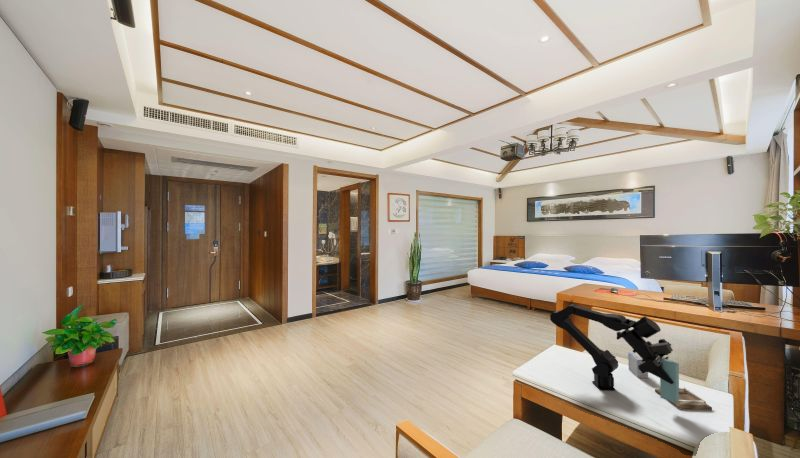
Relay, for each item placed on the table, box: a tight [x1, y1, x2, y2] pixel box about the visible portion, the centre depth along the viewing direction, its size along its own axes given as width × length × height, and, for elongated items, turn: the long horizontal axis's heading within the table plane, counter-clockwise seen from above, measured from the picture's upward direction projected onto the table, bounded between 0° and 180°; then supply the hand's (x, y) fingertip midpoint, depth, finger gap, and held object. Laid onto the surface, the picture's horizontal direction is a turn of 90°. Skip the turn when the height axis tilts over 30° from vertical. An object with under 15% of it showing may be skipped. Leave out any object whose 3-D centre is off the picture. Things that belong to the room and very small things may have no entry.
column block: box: [659, 357, 680, 403], centre depth 114 cm, size 4×4×14 cm
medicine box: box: [627, 352, 649, 379], centre depth 142 cm, size 8×4×9 cm, turn 168°
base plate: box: [654, 387, 713, 411], centre depth 120 cm, size 12×12×2 cm
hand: (674, 381), depth 113 cm, fingers closed on column block, 4 cm apart
